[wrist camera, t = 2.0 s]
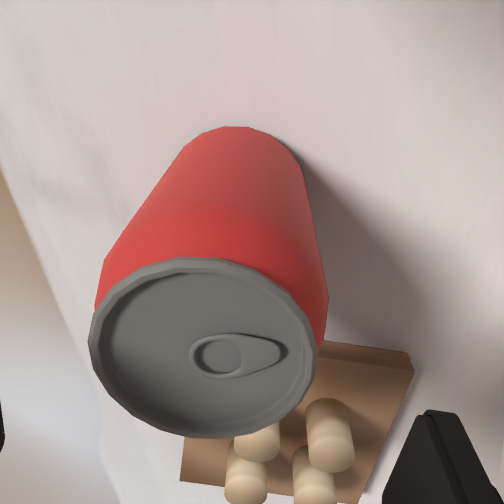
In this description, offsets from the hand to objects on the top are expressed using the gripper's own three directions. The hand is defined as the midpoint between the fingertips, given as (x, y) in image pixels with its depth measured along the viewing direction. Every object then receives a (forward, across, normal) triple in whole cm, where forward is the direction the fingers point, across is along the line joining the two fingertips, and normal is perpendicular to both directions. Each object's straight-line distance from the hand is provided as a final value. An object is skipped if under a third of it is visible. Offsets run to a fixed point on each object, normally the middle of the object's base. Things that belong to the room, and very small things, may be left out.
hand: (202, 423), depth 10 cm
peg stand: (+14, -5, +13) cm, 19 cm away
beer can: (+13, 0, -1) cm, 13 cm away
